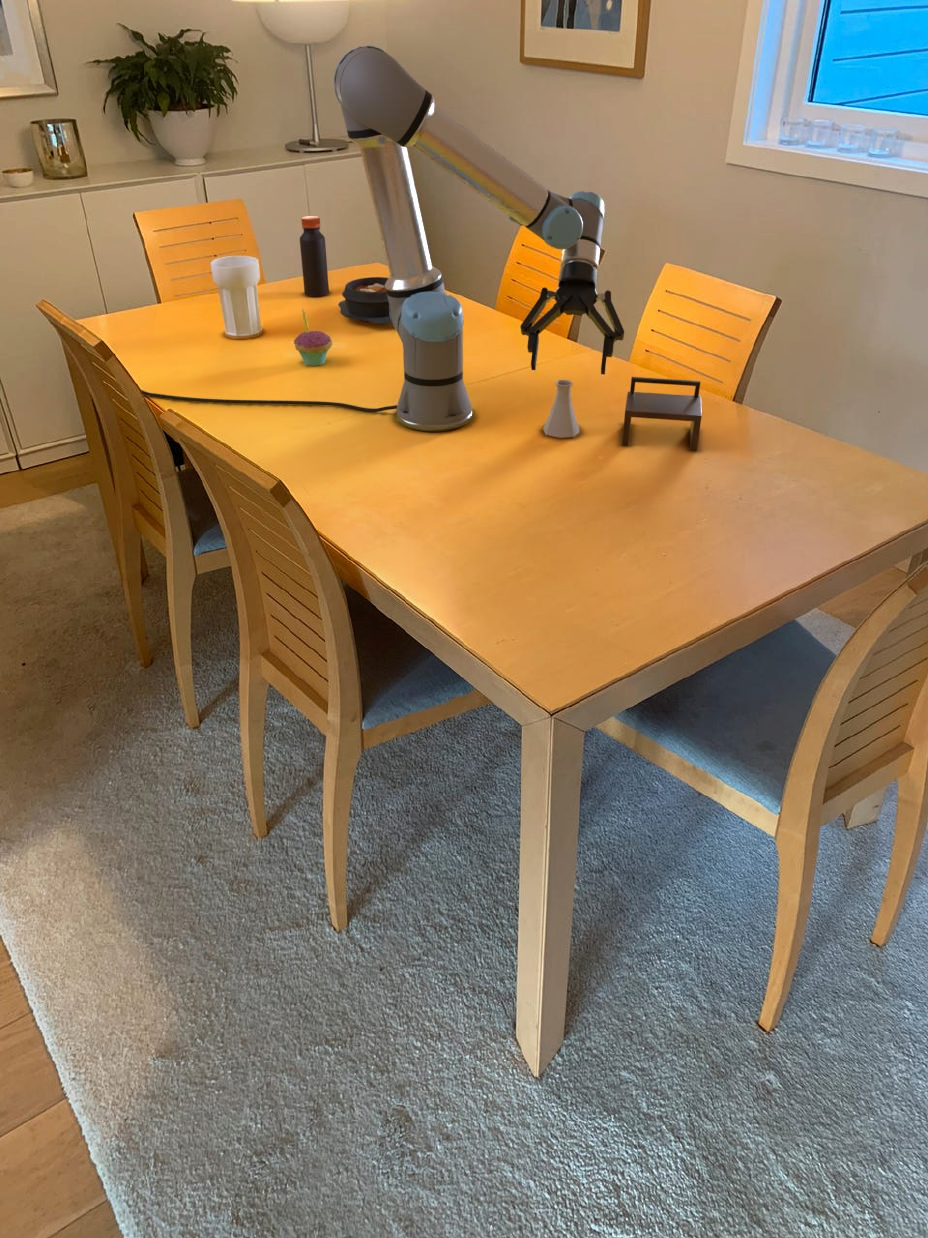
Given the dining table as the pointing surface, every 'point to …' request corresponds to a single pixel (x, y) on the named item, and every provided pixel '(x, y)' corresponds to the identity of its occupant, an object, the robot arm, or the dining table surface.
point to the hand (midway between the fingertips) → (567, 369)
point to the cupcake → (312, 345)
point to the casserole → (366, 301)
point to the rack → (664, 407)
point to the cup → (238, 295)
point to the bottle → (313, 258)
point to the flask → (562, 413)
